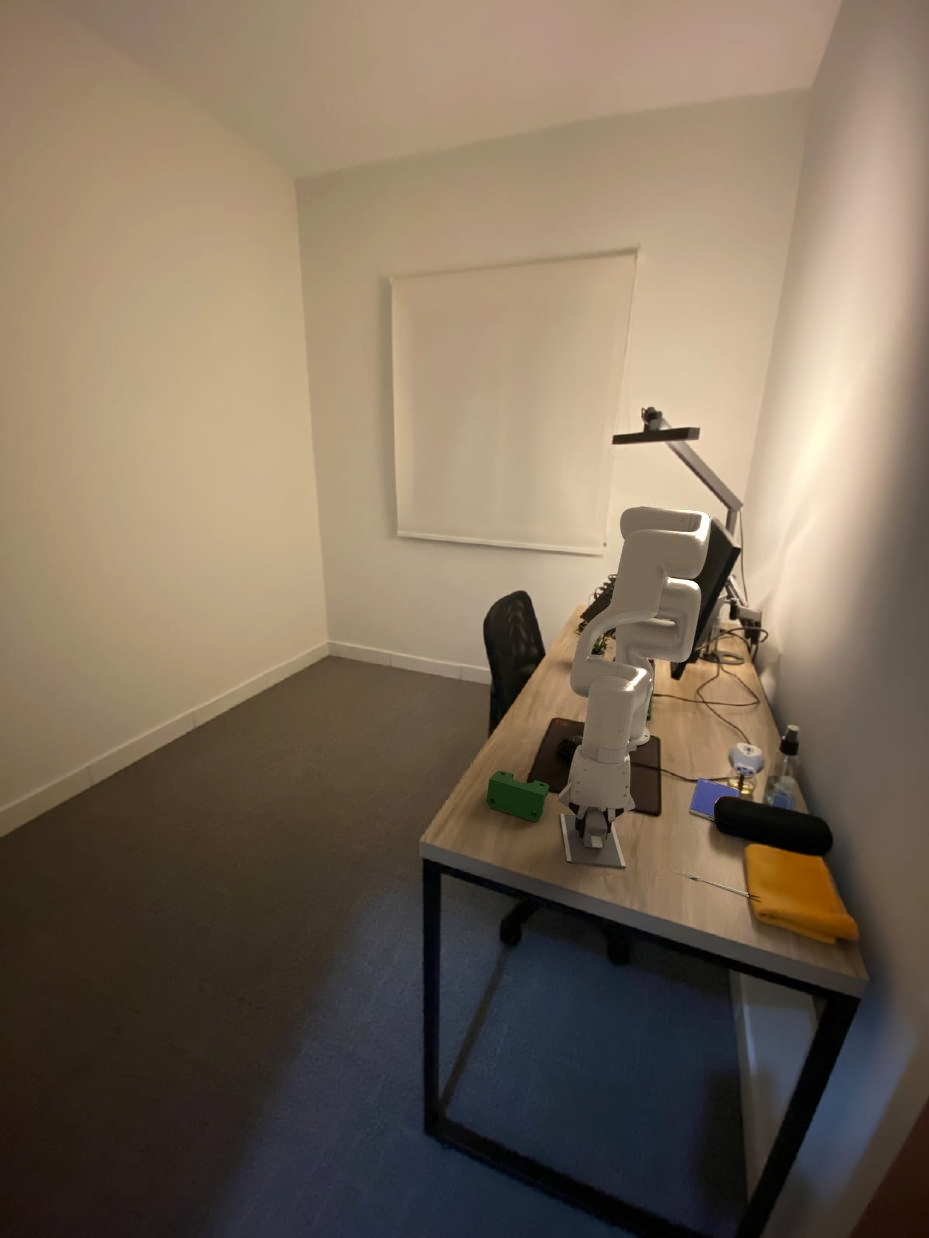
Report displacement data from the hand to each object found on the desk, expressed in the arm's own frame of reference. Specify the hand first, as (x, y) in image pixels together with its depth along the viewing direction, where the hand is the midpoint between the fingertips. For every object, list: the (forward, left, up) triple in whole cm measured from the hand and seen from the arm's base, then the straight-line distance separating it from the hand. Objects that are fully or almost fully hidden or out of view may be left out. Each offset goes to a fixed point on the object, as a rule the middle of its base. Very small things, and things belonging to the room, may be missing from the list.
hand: (591, 832), depth 90 cm
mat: (0, 0, -2) cm, 2 cm away
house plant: (-83, +13, -2) cm, 84 cm away
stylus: (+7, +17, -2) cm, 18 cm away
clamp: (-8, -13, -2) cm, 16 cm away
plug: (0, 0, -1) cm, 1 cm away
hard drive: (-14, +28, -2) cm, 31 cm away
